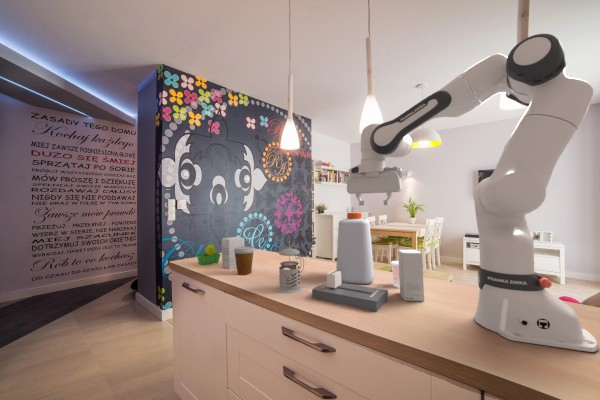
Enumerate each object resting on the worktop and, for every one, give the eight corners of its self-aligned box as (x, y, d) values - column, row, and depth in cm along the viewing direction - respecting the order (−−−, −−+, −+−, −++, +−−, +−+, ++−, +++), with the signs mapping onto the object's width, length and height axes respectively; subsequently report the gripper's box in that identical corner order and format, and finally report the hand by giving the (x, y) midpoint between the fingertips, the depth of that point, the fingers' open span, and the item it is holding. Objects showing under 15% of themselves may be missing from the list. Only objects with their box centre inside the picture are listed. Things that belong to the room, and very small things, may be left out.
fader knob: (341, 284, 93) (341, 271, 93) (335, 288, 89) (334, 274, 89) (333, 283, 95) (333, 270, 95) (327, 286, 90) (326, 273, 90)
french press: (271, 288, 100) (270, 222, 101) (294, 282, 108) (294, 221, 108) (287, 295, 93) (286, 223, 93) (311, 288, 100) (310, 222, 101)
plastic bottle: (373, 285, 102) (371, 213, 103) (334, 282, 107) (333, 213, 107) (374, 275, 116) (373, 212, 117) (340, 273, 121) (339, 212, 122)
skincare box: (424, 302, 84) (423, 253, 85) (402, 301, 86) (401, 252, 86) (418, 293, 93) (417, 249, 93) (398, 292, 94) (397, 248, 94)
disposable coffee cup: (233, 271, 127) (233, 246, 127) (253, 270, 130) (253, 245, 130) (234, 276, 118) (234, 249, 118) (255, 274, 121) (255, 248, 121)
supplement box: (237, 263, 144) (237, 236, 144) (245, 266, 137) (245, 237, 138) (221, 266, 138) (221, 237, 139) (228, 269, 131) (228, 239, 132)
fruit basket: (216, 261, 153) (216, 241, 153) (222, 263, 146) (222, 243, 146) (195, 264, 145) (195, 243, 146) (201, 266, 138) (201, 245, 139)
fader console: (387, 299, 87) (387, 289, 88) (376, 311, 77) (376, 300, 78) (328, 288, 100) (328, 279, 100) (312, 298, 90) (312, 288, 90)
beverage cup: (411, 288, 99) (410, 250, 99) (394, 288, 99) (393, 250, 99) (404, 283, 105) (404, 247, 105) (389, 283, 105) (388, 248, 105)
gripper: (403, 167, 97) (404, 204, 96) (351, 171, 108) (351, 205, 108) (399, 164, 91) (400, 205, 91) (344, 169, 103) (345, 205, 102)
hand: (373, 205), depth 99 cm, fingers open, 8 cm apart
